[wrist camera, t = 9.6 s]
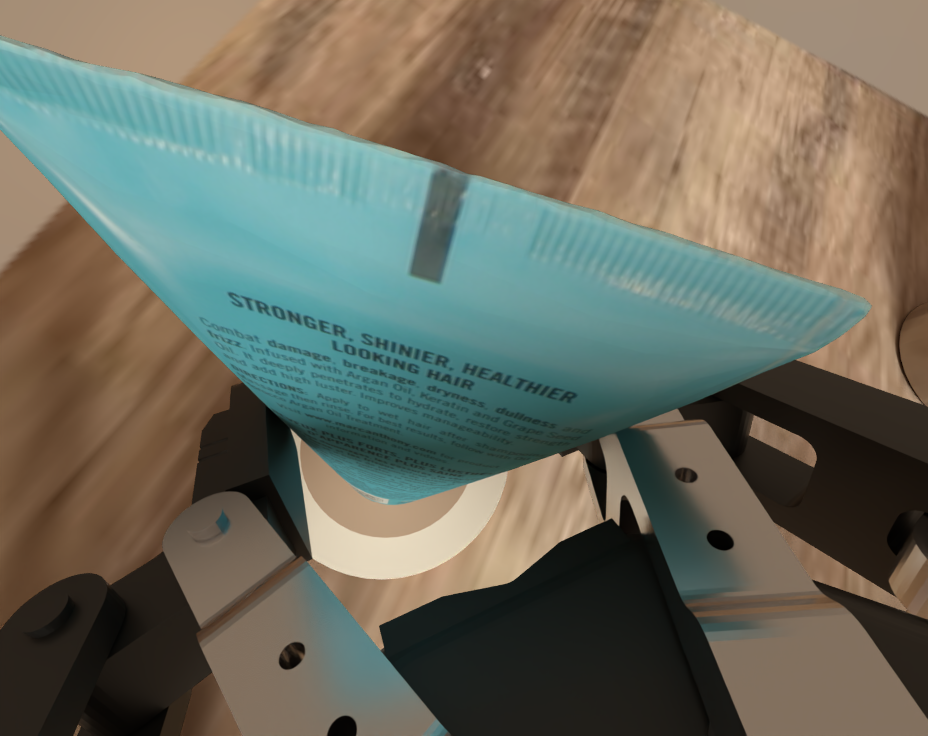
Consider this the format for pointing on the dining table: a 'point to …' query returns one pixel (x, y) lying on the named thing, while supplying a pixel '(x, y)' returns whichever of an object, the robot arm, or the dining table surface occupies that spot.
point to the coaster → (389, 523)
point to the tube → (399, 280)
